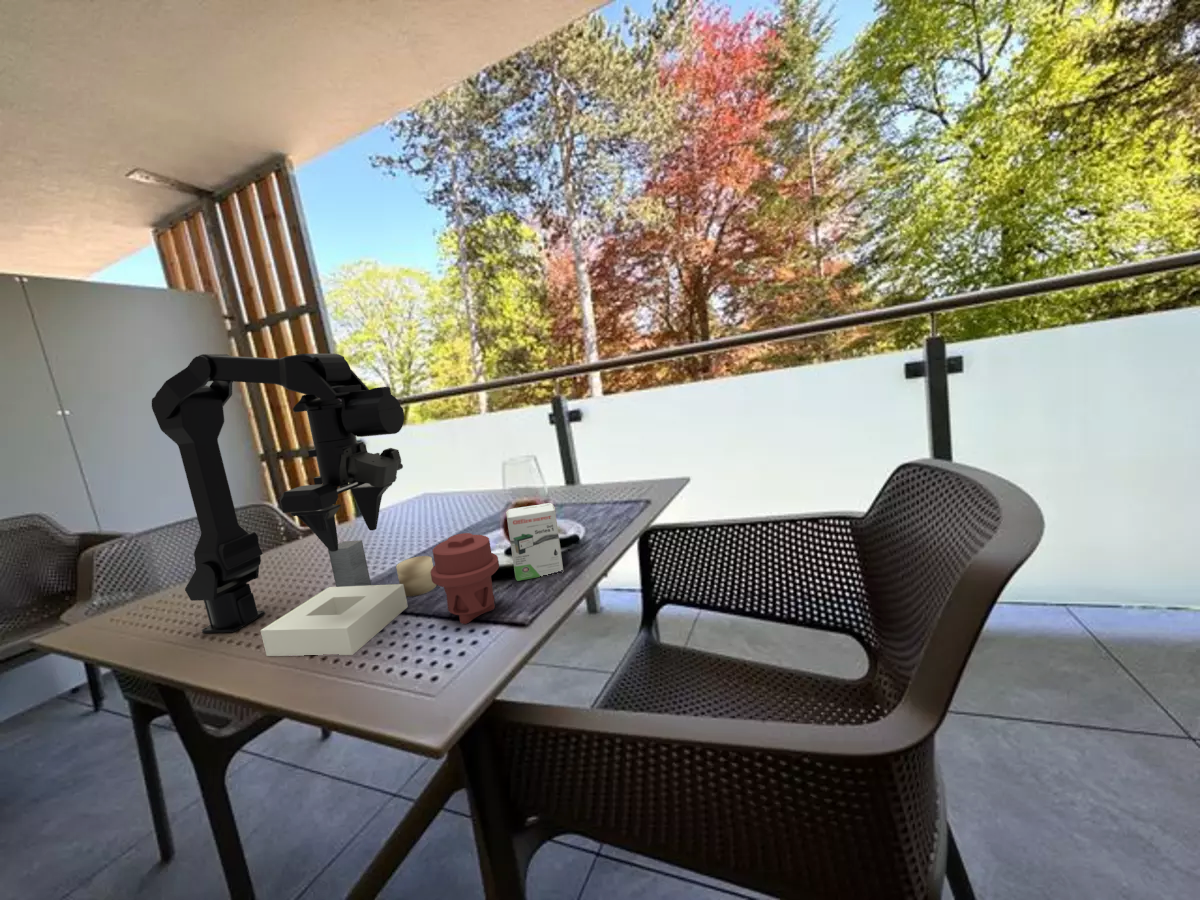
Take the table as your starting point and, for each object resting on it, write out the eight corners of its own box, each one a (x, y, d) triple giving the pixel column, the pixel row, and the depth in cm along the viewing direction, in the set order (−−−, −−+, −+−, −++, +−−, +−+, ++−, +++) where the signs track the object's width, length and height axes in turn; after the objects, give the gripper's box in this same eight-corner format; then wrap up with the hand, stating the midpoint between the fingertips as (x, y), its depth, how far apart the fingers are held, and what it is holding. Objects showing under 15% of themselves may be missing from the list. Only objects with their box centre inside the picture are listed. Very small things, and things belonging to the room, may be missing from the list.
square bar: (338, 596, 92) (327, 549, 91) (352, 586, 96) (342, 541, 95) (357, 595, 91) (347, 548, 90) (371, 586, 95) (362, 540, 94)
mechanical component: (515, 597, 82) (490, 630, 73) (458, 599, 84) (427, 631, 75) (503, 524, 80) (476, 547, 71) (445, 528, 82) (411, 551, 73)
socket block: (266, 656, 73) (260, 630, 73) (333, 609, 87) (328, 587, 86) (352, 655, 70) (346, 628, 70) (407, 606, 84) (403, 583, 83)
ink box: (516, 582, 89) (505, 516, 87) (514, 571, 93) (504, 509, 92) (564, 572, 90) (555, 508, 88) (561, 562, 95) (552, 501, 93)
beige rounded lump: (394, 597, 89) (389, 570, 88) (413, 582, 95) (408, 556, 94) (425, 596, 88) (420, 568, 87) (442, 581, 93) (437, 555, 93)
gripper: (340, 445, 65) (363, 562, 67) (417, 426, 83) (433, 518, 85) (266, 452, 67) (290, 565, 69) (356, 432, 85) (373, 521, 88)
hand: (354, 539), depth 78 cm, fingers open, 9 cm apart
